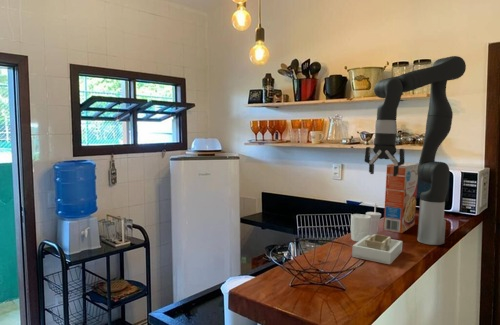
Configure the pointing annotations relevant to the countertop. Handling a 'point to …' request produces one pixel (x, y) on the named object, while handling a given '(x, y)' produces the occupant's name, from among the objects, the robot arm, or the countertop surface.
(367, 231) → the white cup
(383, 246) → the birch crate
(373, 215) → the smoothie
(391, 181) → the orange cereal box
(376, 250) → the white crate
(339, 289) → the countertop surface
